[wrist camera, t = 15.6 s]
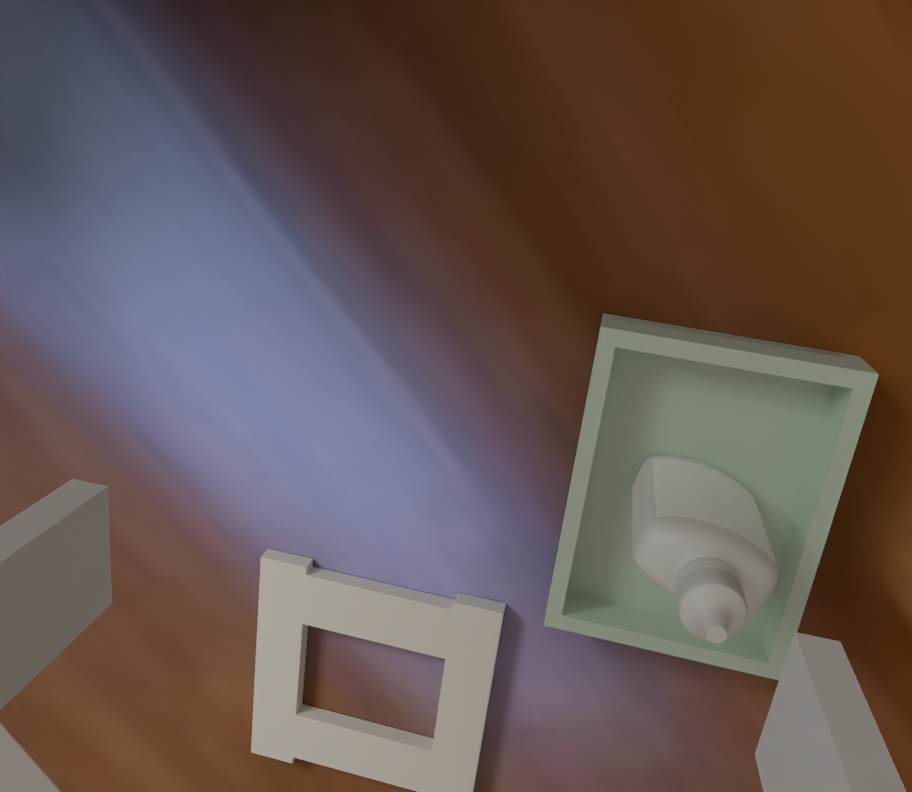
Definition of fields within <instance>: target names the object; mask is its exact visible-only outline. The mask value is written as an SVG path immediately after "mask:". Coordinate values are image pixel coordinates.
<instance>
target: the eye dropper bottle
mask: <svg viewBox="0 0 912 792" xmlns="http://www.w3.org/2000/svg"><path fill="white" fill-rule="evenodd" d="M632 550H633V558H634V560H635V562H636V564H637V566H638V567H639V568H640V569H641V571H642V572H643V573H644V574H645V575H646V576H647V577H648V578H649V579H650V580H652V581H653V582H654V583H655V584H656V585H657V586H659V587H660V588H661V589H662V590H664V591H665V592H667V593H668V594H670V595H671V596H673V597H675V598H676V599H677V607H678V615H679V618H680V621H681V623H682V624H683V626H684V627H685V629H687V630H688V631H689V632H690V633H692V634H693V635H695V636H696V637H699V638H702V639H706V640H709V641H710V642H712V643H715V644H719V643H722V642H724V641H725V640H726V639H727V638H729V637H731V636H734V634H737V632H739V630H741V629H742V627H744V626H743V625H744V624H745V622H746V619H747V615H748V613H749V612H754V611H757V610H759V609H760V608H761V607H763V606H764V604H765V603H766V601H767V600H768V598H769V596H770V595H771V593H772V591H773V589H774V587H775V585H776V583H777V579H778V568H777V564H776V561H775V557H774V554H773V551H772V548H771V545H770V542H769V539H768V536H767V533H766V530H765V527H764V525H763V522H762V519H761V516H760V513H759V510H758V507H757V504H756V502H755V500H754V497H753V495H752V494H751V493H750V492H749V491H748V490H747V489H746V488H745V487H744V486H743V485H742V484H740V483H739V482H738V481H737V480H735V479H734V478H733V477H731V476H730V475H728V474H727V473H725V472H723V471H721V470H720V469H718V468H716V467H714V466H711V465H709V464H706V463H704V462H701V461H697V460H694V459H689V458H684V457H677V456H653V457H650V458H648V459H647V460H646V461H645V462H644V463H643V464H642V466H641V468H640V470H639V473H638V475H637V477H636V479H635V482H634V484H633V487H632Z"/></svg>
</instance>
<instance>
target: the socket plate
mask: <svg viewBox="0 0 912 792" xmlns="http://www.w3.org/2000/svg"><path fill="white" fill-rule="evenodd" d="M505 607H506V603H502V602H498V601H493V600H489V599H485V598H480V597H476V596H472V595H467V594H463V593H459V592H457V595H456V597H455V599H450V598H446V597H442V596H437V595H433V594H429V593H425V592H420V591H416V590H412V589H407V588H403V587H399V586H395V585H390V584H386V583H382V582H377V581H373V580H369V579H365V578H360V577H356V576H352V575H347V574H343V573H339V572H334V571H330V570H326V569H322V568H317V567H313V559H312V558H307V557H303V556H299V555H294V554H290V553H286V552H282V551H277V550H273V549H268V550H267V551H266V552H265V553H264V554H263V555H262V556H261V566H260V585H259V605H258V625H257V644H256V664H255V684H254V703H253V723H252V743H251V752H252V753H256V754H259V755H263V756H266V757H270V758H274V759H277V760H281V761H285V762H288V763H293V761H294V760H295V758H297V759H301V760H304V761H308V762H312V763H315V764H319V765H323V766H326V767H330V768H334V769H337V770H341V771H344V772H348V773H352V774H355V775H359V776H363V777H366V778H370V779H373V780H377V781H381V782H384V783H388V784H392V785H395V786H399V787H403V788H406V789H410V790H413V791H417V792H474V787H475V781H476V776H477V770H478V764H479V758H480V752H481V746H482V741H483V735H484V729H485V723H486V717H487V711H488V706H489V700H490V694H491V688H492V682H493V677H494V671H495V665H496V659H497V653H498V647H499V642H500V636H501V630H502V624H503V618H504V612H505ZM308 625H309V626H313V627H317V628H321V629H325V630H329V631H333V632H337V633H341V634H345V635H349V636H353V637H357V638H361V639H366V640H370V641H374V642H378V643H382V644H386V645H390V646H394V647H398V648H402V649H406V650H410V651H414V652H418V653H422V654H427V655H431V656H435V657H439V658H443V659H445V665H444V672H443V678H442V685H441V692H440V699H439V706H438V713H437V720H436V726H435V733H434V738H430V737H426V736H423V735H419V734H415V733H411V732H407V731H404V730H400V729H396V728H392V727H388V726H385V725H381V724H377V723H373V722H369V721H366V720H362V719H358V718H354V717H350V716H347V715H343V714H339V713H335V712H331V711H328V710H324V709H320V708H316V707H312V706H309V705H305V704H302V702H303V689H304V676H305V662H306V649H307V636H308Z"/></svg>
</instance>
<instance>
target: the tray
mask: <svg viewBox="0 0 912 792" xmlns="http://www.w3.org/2000/svg"><path fill="white" fill-rule="evenodd" d="M878 376H879V374H878V373H877V372H876V371H875V370H874V369H873V368H872V367H871V366H870V365H869V364H867V363H866V362H865V361H864V360H863V359H862V358H861V357H860V356H855V355H849V354H843V353H837V352H831V351H825V350H819V349H813V348H807V347H801V346H796V345H790V344H784V343H778V342H772V341H766V340H760V339H754V338H748V337H742V336H736V335H730V334H724V333H718V332H712V331H706V330H700V329H694V328H688V327H682V326H677V325H671V324H665V323H659V322H653V321H647V320H641V319H635V318H629V317H623V316H617V315H611V314H605V313H603V316H602V321H601V326H600V331H599V336H598V342H597V347H596V352H595V357H594V363H593V368H592V373H591V378H590V383H589V389H588V394H587V399H586V404H585V410H584V415H583V420H582V425H581V430H580V436H579V441H578V446H577V451H576V456H575V462H574V467H573V472H572V477H571V483H570V488H569V493H568V498H567V503H566V509H565V514H564V519H563V524H562V530H561V535H560V540H559V545H558V550H557V556H556V561H555V566H554V571H553V577H552V582H551V587H550V592H549V598H548V603H547V608H546V614H545V619H544V624H543V625H544V626H548V627H553V628H557V629H561V630H565V631H570V632H574V633H578V634H582V635H587V636H591V637H595V638H599V639H604V640H608V641H612V642H617V643H621V644H625V645H629V646H634V647H638V648H642V649H646V650H651V651H655V652H659V653H664V654H668V655H672V656H676V657H681V658H685V659H689V660H693V661H698V662H702V663H706V664H711V665H715V666H719V667H723V668H728V669H732V670H736V671H740V672H745V673H749V674H753V675H758V676H762V677H766V678H770V679H775V680H779V678H780V675H781V672H782V669H783V666H784V663H785V660H786V657H787V654H788V651H789V648H790V645H791V642H792V639H793V636H794V633H795V632H797V631H798V628H799V625H800V621H801V618H802V615H803V612H804V609H805V606H806V602H807V599H808V596H809V593H810V590H811V587H812V584H813V580H814V577H815V574H816V571H817V568H818V565H819V562H820V558H821V555H822V552H823V549H824V546H825V543H826V540H827V536H828V533H829V530H830V527H831V524H832V521H833V518H834V514H835V511H836V508H837V505H838V502H839V499H840V495H841V492H842V489H843V486H844V483H845V480H846V477H847V473H848V470H849V467H850V464H851V461H852V458H853V455H854V451H855V448H856V445H857V442H858V439H859V436H860V433H861V429H862V426H863V423H864V420H865V417H866V414H867V411H868V407H869V404H870V401H871V398H872V395H873V392H874V388H875V385H876V382H877V379H878ZM653 456H677V457H684V458H689V459H694V460H697V461H701V462H704V463H706V464H709V465H711V466H714V467H716V468H718V469H720V470H721V471H723V472H725V473H727V474H728V475H730V476H731V477H733V478H734V479H735V480H737V481H738V482H739V483H740V484H742V485H743V486H744V487H745V488H746V489H747V490H748V491H749V492H750V493H751V494H752V495H753V497H754V500H755V502H756V504H757V507H758V510H759V513H760V516H761V519H762V522H763V525H764V527H765V530H766V533H767V536H768V539H769V542H770V545H771V548H772V551H773V554H774V557H775V561H776V564H777V568H778V579H777V583H776V585H775V587H774V589H773V591H772V593H771V595H770V596H769V598H768V600H767V601H766V603H765V604H764V606H763V607H761V608H760V609H759V610H757V611H754V612H749V613H748V615H747V619H746V622H745V624H744V625H743V626H744V627H742V629H741V630H739V632H737V634H734V636H731V637H729V638H727V639H726V640H725V641H724V642H722V643H719V644H715V643H712V642H710V641H709V640H706V639H702V638H699V637H696V636H695V635H693V634H692V633H690V632H689V631H688V630H687V629H685V627H684V626H683V624H682V623H681V621H680V618H679V615H678V607H677V599H676V598H675V597H673V596H671V595H670V594H668V593H667V592H665V591H664V590H662V589H661V588H660V587H659V586H657V585H656V584H655V583H654V582H653V581H652V580H650V579H649V578H648V577H647V576H646V575H645V574H644V573H643V572H642V571H641V569H640V568H639V567H638V566H637V564H636V562H635V560H634V558H633V550H632V487H633V484H634V482H635V479H636V477H637V475H638V473H639V470H640V468H641V466H642V464H643V463H644V462H645V461H646V460H647V459H648V458H650V457H653Z"/></svg>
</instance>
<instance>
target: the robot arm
mask: <svg viewBox="0 0 912 792" xmlns="http://www.w3.org/2000/svg"><path fill="white" fill-rule="evenodd" d="M111 604H112V594H111V565H110V535H109V506H108V486H104V485H99V484H94V483H89V482H85V481H80V480H75V479H72V480H70V481H69V482H67V483H66V484H64V485H63V486H61V487H59V488H58V489H56V490H55V491H53V492H52V493H50V494H49V495H47V496H46V497H44V498H42V499H41V500H39V501H38V502H36V503H35V504H33V505H32V506H30V507H29V508H27V509H26V510H24V511H22V512H21V513H19V514H18V515H16V516H15V517H13V518H12V519H10V520H9V521H7V522H6V523H4V524H2V525H1V526H0V709H1V708H2V707H3V706H5V705H6V704H7V703H8V702H9V701H10V700H11V699H12V698H13V697H14V696H15V695H16V694H17V693H18V692H19V691H20V690H21V689H22V688H24V687H25V686H26V685H27V684H28V683H29V682H30V681H31V680H32V679H33V678H34V677H35V676H36V675H37V674H38V673H39V672H40V671H41V670H42V669H44V668H45V667H46V666H47V665H48V664H49V663H50V662H51V661H52V660H53V659H54V658H55V657H56V656H57V655H58V654H59V653H60V652H61V651H63V650H64V649H65V648H66V647H67V646H68V645H69V644H70V643H71V642H72V641H73V640H74V639H75V638H76V637H77V636H78V635H79V634H80V633H81V632H83V631H84V630H85V629H86V628H87V627H88V626H89V625H90V624H91V623H92V622H93V621H94V620H95V619H96V618H97V617H98V616H99V615H100V614H102V613H103V612H104V611H105V610H106V609H107V608H108V607H109V606H110V605H111ZM755 757H756V761H757V766H758V770H759V775H760V779H761V784H762V788H763V792H906V790H905V788H904V786H903V783H902V781H901V779H900V776H899V774H898V772H897V770H896V767H895V765H894V763H893V760H892V758H891V756H890V754H889V751H888V749H887V747H886V744H885V742H884V740H883V738H882V735H881V733H880V731H879V728H878V726H877V724H876V722H875V719H874V717H873V715H872V713H871V710H870V708H869V706H868V703H867V701H866V699H865V697H864V694H863V692H862V690H861V687H860V685H859V683H858V681H857V678H856V676H855V674H854V671H853V669H852V667H851V665H850V662H849V660H848V658H847V655H846V653H845V651H844V649H843V646H842V644H841V642H840V641H836V640H831V639H826V638H822V637H817V636H812V635H807V634H803V633H798V632H795V633H794V636H793V639H792V642H791V645H790V648H789V651H788V654H787V657H786V660H785V663H784V666H783V669H782V672H781V675H780V678H779V682H778V685H777V688H776V691H775V694H774V697H773V700H772V703H771V706H770V709H769V712H768V715H767V718H766V721H765V724H764V728H763V731H762V734H761V737H760V740H759V743H758V746H757V749H756V752H755Z"/></svg>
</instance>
